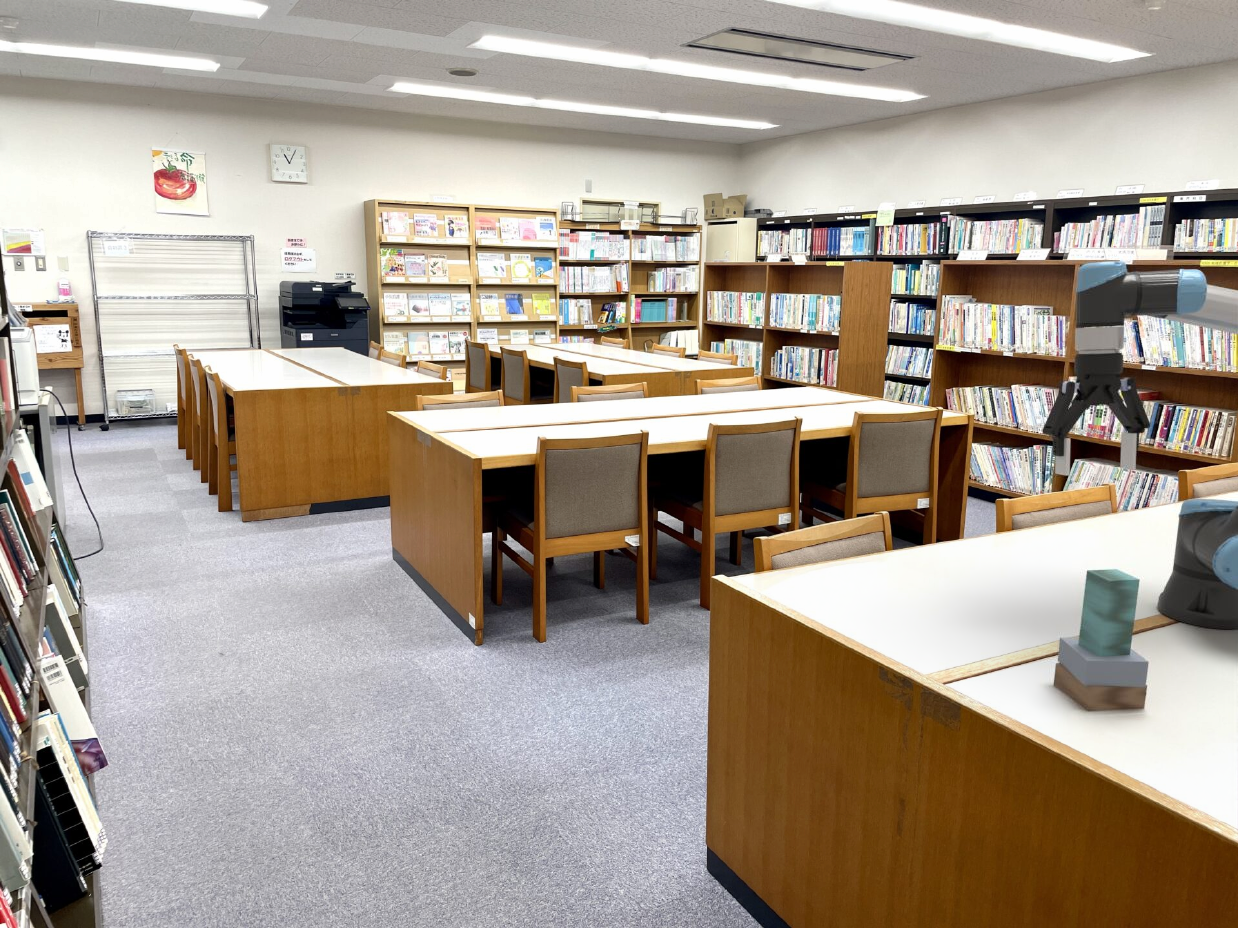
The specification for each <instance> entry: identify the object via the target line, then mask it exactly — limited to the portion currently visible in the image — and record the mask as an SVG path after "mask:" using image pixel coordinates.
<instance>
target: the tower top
mask: <svg viewBox="0 0 1238 928" xmlns="http://www.w3.org/2000/svg"><path fill="white" fill-rule="evenodd" d="M1078 642H1079V637H1059V645H1058V651H1057V652H1058V653H1057V663H1060V664H1061V665H1062V666H1064V667H1065V668H1066V669H1067V670H1068V671H1069V672H1070V673H1071V674H1072V675H1073V676H1074V677H1076V678H1077V679H1078V680H1079V681H1080V682H1081V683H1082V684H1083V685H1084V686H1127V687H1146V685H1147V678H1148V670H1149V661H1148V660H1147V659H1146V658H1144V657H1143V656H1142V655H1140V654H1139V653H1138V652H1136V651H1135V650H1134V649H1132V648H1131V650H1130V655H1118V656H1103V657H1100V656H1098V655H1096V654H1095V653H1093V652H1091V651H1090V650H1088V649H1086V648H1085V647H1083V646H1081V645H1080V644H1078Z"/></svg>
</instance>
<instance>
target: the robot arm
mask: <svg viewBox="0 0 1238 928" xmlns="http://www.w3.org/2000/svg"><path fill="white" fill-rule="evenodd" d="M1135 316H1137V317H1138V316H1145V317H1146V316H1147V317H1152V318H1155V319H1162V320H1168V321H1172V322H1177V323H1182V324H1186V325H1192V326H1197V327H1201V328H1207V329H1210V330H1215V331H1216V330H1217V331H1221V332H1225V333H1229V334H1235V335H1238V290H1236V289H1232V288H1225V287H1221V286H1217V285H1212V284H1208V283H1207V278H1206V275H1205V274H1204V272H1202V271H1201V270H1199V269H1184V268H1180V269H1168V270H1167V269H1166V270H1153V271H1152V270H1151V271H1137V270H1135V271H1131V272H1129V271H1128V269H1127V264H1126V262H1125V261H1123V260H1117V261H1100V262H1098V261H1097V262H1089V263H1086V264H1085V263H1084V264H1082V265H1081V266H1079V268H1078V270H1077V277H1076V287H1075V328H1074V329H1075V337H1074V340H1075V341H1074V350H1075V351H1077V352H1078V353H1076V354H1075V356H1074V365H1073V367H1074V370H1073V372H1074V374H1075V376H1076V380H1075V381H1072V380H1071V381H1070V380H1069V381H1067V380H1065V381H1061V382H1060V383H1059V386H1058V387H1059V388H1058V394H1057V397H1056V399H1055V401H1054V403H1053V405H1052V407H1051V410H1050V412H1049V414H1048V416H1047V419H1046V422H1045V424H1044V425H1043V428H1042V431H1041V432H1042V435H1046V436H1048V437H1050V438H1052V455H1053V456H1054V457H1055V463H1054V465H1055V467H1054V473H1055V475H1062V476H1070V475H1071V473H1070V472H1071V471H1070V470H1071V438H1070V437H1067V436H1068V435H1069V433H1070V432H1071V431H1072V429H1073V428H1074V426H1075V425H1076V424H1077V422H1078V421H1079V420H1080V418H1081V416H1082V415H1083V414H1084V413H1085V411H1086V410H1087V409H1089V408H1091V406H1093V407H1094V406H1095V407H1096V406H1099V405H1101V406H1102V405H1103V406H1107V407H1108V408H1109V409H1110V411H1111V412H1112V413H1113V415H1114V416H1115V418H1116V419H1117V421H1118V422H1119V423H1120V424H1121V426H1122V427H1123V428H1124V430H1125V431H1124V432H1121V437H1120V439H1121V441H1120V469H1124V470H1130V471H1135V470H1137V469H1136V467H1137V466H1136V465H1137V463H1136V462H1137V451H1138V450H1139V448H1140V434H1143V433H1145V431H1146V430H1147V429H1149V428H1150V427H1151V422H1150V419H1149V417H1148V414H1147V412H1146V410H1145V408H1144V404H1143V402H1142V400H1141V398H1140V394H1139V393H1138V389H1137V379H1136V377H1135V378H1134V377H1121V378H1120V375H1121V374H1122V373H1123V372H1124V371H1123V370H1124V368H1123V367H1124V354H1123V353H1122V352H1120V351H1121V350H1123V349H1124V346H1125V345H1124V341H1125V339H1124V338H1125V318H1126V317H1135ZM1119 391H1120V393H1121V394H1120V393H1119ZM1075 393H1076V395H1075ZM1178 518H1179V519H1178V525H1177V533H1176V542H1175V548H1174V549H1175V550H1174V557H1173V564H1172V565H1173V566H1172V571H1171V574H1170V576H1169V578H1168V580H1167V581H1166V584H1165V586H1164V588H1163V591H1162V592H1161V593H1160V594H1159V595H1158V600H1157V607H1156V608H1157V610H1158V611H1159V612H1160V613H1161V614H1162V615H1164V616H1166V617H1168V618H1171V619H1173V620H1175V621H1178V622H1182V623H1185V624H1189V625H1194V626H1198V627H1204V628H1209V629H1221V630H1237V629H1238V500H1236V501H1235V500H1227V499H1213V498H1211V499H1210V498H1191V499H1190V498H1189V499H1186V500H1184V501H1183V502H1182V504H1181V508H1180V512H1179V513H1178Z"/></svg>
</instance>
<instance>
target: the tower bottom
mask: <svg viewBox="0 0 1238 928" xmlns="http://www.w3.org/2000/svg"><path fill="white" fill-rule="evenodd" d="M1053 677H1054V678H1053V686H1054V687H1056V688H1057V689H1058V690H1060V691H1061V692H1062V693H1063V694H1065V695H1066V696H1068V697H1069V698H1070V699H1072V700H1073V701H1074V702H1076V704H1078V705H1079V706H1081V707H1082V708H1083V709H1084V710H1086V711H1087V712H1099V711H1121V710H1122V711H1123V710H1125V711H1126V710H1142V709H1143V710H1144V709H1145V706H1146V705H1145V704H1146V698H1147V690H1148V685H1147V684H1146V687H1127V686H1084V685H1083V684H1082V683H1081V682H1080V681H1079V680H1078V679H1077V678H1076V677H1074V676H1073V675H1072V674H1071V673H1070V672H1069V671H1068V670H1067V669H1066V668H1065V667H1064V666H1062V665H1061V664H1060V663H1059V662H1056V663H1055V666H1054V676H1053Z"/></svg>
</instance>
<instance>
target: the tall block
mask: <svg viewBox="0 0 1238 928" xmlns="http://www.w3.org/2000/svg"><path fill="white" fill-rule="evenodd" d="M1140 582H1141V580H1140V579H1139V578H1137V577H1135V576H1132V575H1131V574H1129V573H1127V572H1124V571H1121V570H1119V569H1117V568H1113V569H1109V568H1108V569H1091V570H1089V569H1088V570H1086V575H1085V584H1084V585H1085V586H1084V593H1083V600H1082V608H1081V618H1080V626H1079V636H1078V638H1079V642H1078V644H1080V645H1081V646H1083V647H1085V648H1086V649H1088V650H1090V651H1091V652H1093V653H1095V654H1096V655H1098V656H1100V657H1103V656H1118V655H1130V650H1131V649H1132V642H1133V633H1134V625H1135V617H1136V611H1137V605H1138V604H1137V603H1138V595H1139V587H1140Z"/></svg>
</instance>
